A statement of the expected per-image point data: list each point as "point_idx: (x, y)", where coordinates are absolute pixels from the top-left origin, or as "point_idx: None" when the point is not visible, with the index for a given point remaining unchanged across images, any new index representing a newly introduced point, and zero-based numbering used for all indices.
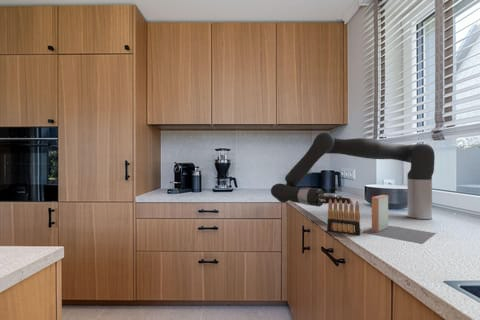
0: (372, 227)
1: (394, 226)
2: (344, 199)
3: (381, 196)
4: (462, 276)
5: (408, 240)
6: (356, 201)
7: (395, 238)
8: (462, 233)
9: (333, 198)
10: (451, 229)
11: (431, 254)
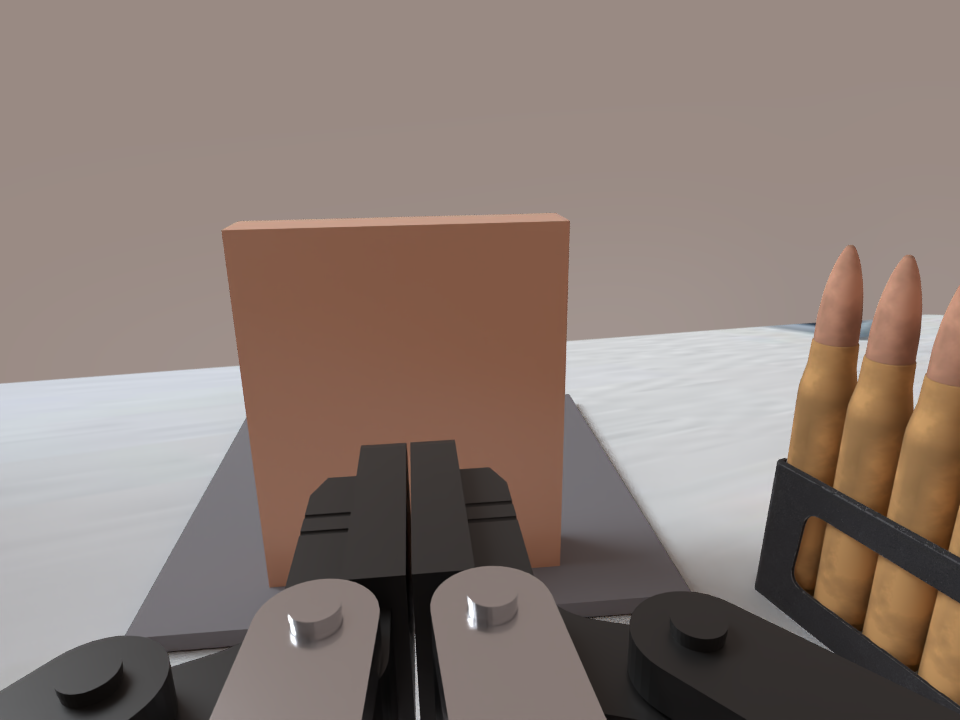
0: (560, 526)
1: (176, 545)
2: (507, 496)
3: (408, 218)
4: (773, 334)
5: (567, 422)
6: (857, 255)
7: (594, 451)
8: (121, 391)
9: (773, 653)
10: (17, 419)
11: (659, 377)
